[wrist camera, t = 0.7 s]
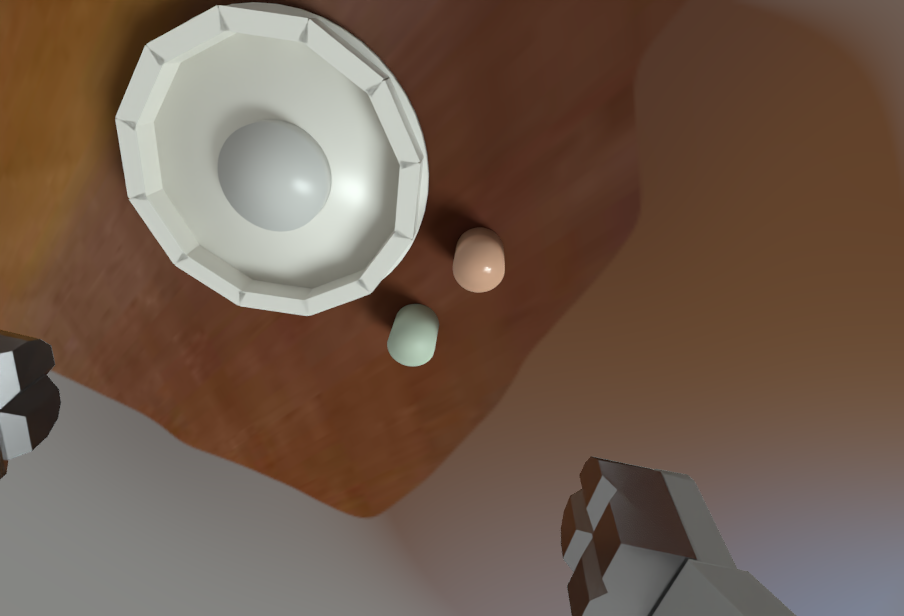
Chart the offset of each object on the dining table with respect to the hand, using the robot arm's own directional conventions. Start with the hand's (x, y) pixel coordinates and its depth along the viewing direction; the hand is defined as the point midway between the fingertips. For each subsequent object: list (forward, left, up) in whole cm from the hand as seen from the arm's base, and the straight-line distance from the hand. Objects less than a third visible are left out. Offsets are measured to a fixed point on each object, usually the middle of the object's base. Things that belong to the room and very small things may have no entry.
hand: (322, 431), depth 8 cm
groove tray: (+13, -9, -39) cm, 42 cm away
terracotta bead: (+8, +9, -39) cm, 41 cm away
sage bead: (+18, +9, -39) cm, 44 cm away
